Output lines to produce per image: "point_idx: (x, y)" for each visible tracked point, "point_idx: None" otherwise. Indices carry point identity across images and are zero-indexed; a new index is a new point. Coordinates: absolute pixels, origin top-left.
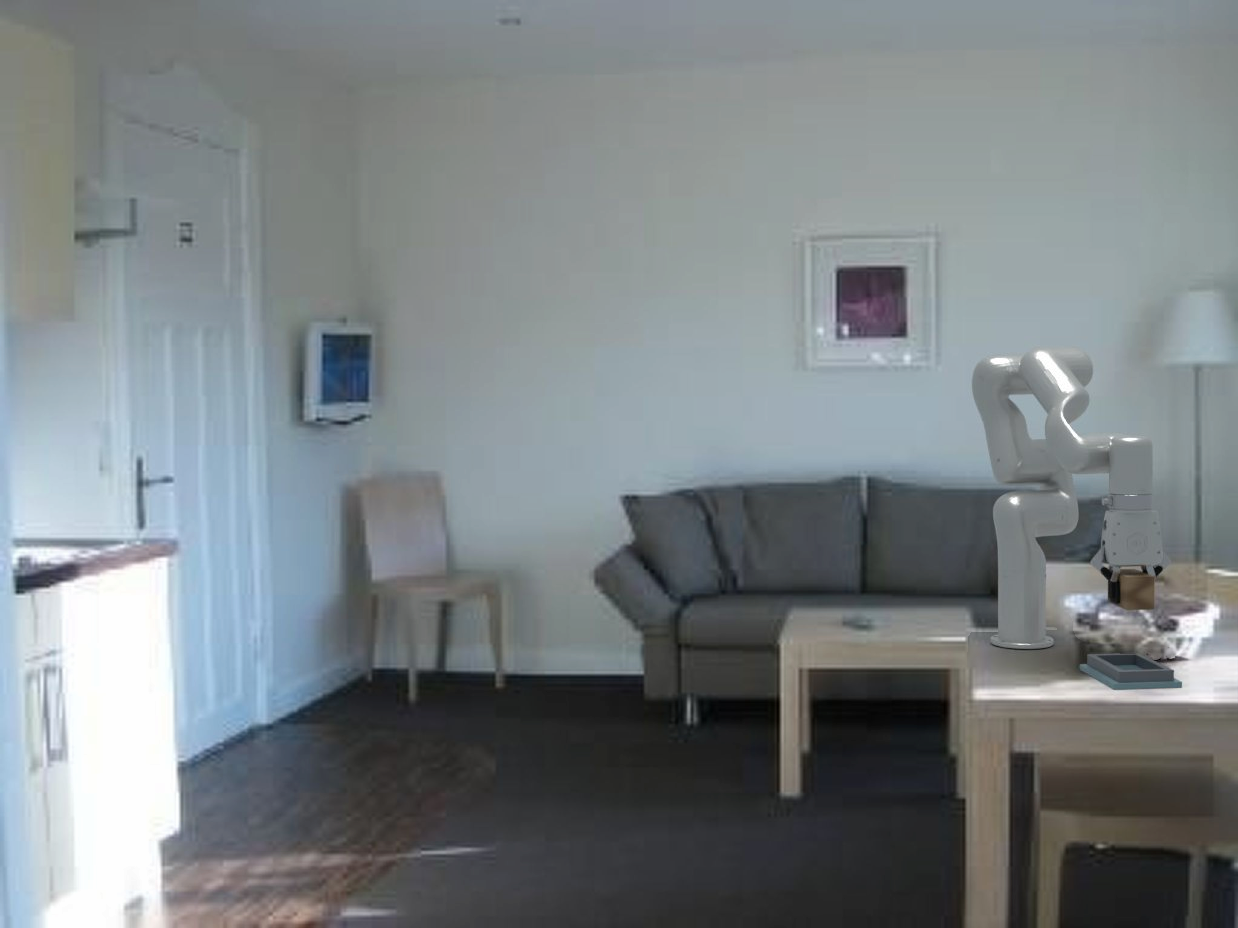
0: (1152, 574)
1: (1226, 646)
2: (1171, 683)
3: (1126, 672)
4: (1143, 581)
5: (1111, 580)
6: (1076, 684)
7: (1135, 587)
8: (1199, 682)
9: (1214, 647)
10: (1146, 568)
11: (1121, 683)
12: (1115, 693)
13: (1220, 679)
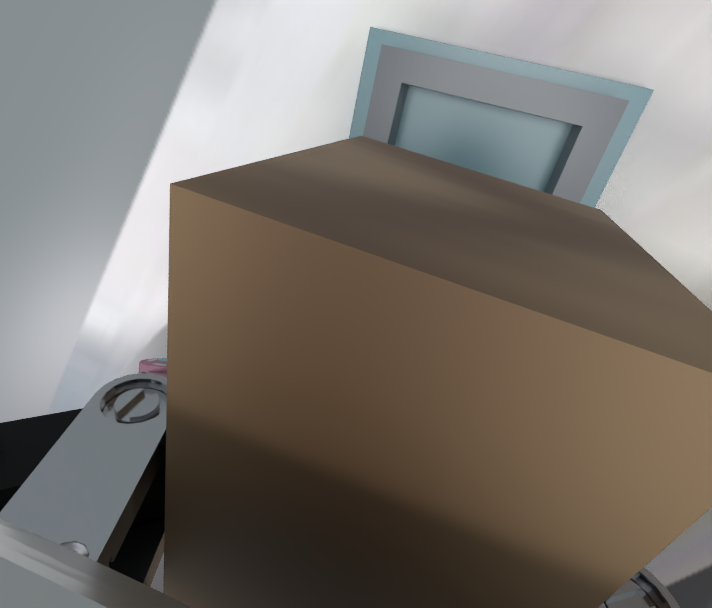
0: (108, 429)
1: (59, 392)
2: (411, 36)
3: (593, 92)
4: (413, 229)
5: (666, 594)
6: (699, 229)
7: (545, 249)
8: (276, 89)
9: (82, 397)
10: (110, 541)
11: (614, 87)
12: (707, 15)
13: (198, 105)
